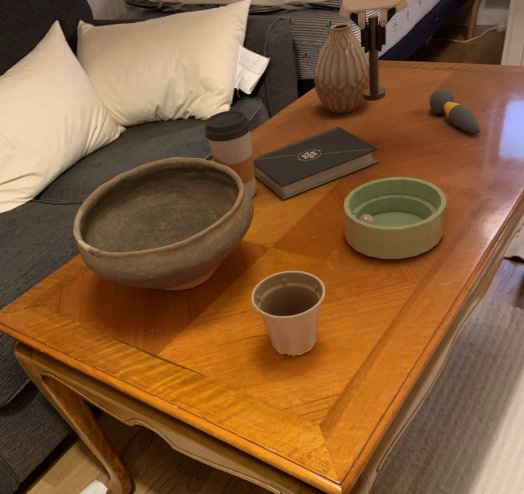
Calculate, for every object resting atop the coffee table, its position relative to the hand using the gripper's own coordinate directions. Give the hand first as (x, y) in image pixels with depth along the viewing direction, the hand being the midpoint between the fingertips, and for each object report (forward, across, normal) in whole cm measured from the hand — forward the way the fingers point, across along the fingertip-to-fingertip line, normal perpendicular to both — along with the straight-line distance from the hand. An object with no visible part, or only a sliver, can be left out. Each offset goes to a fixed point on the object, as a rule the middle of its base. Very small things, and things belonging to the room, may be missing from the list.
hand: (373, 49), depth 98 cm
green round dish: (+18, +5, -35) cm, 40 cm away
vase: (+18, -9, +19) cm, 28 cm away
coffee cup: (+18, -25, -21) cm, 37 cm away
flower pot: (+18, -7, -61) cm, 64 cm away
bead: (+17, +1, -35) cm, 39 cm away
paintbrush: (+18, +16, +8) cm, 26 cm away
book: (+18, -12, -11) cm, 24 cm away
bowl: (+18, -29, -46) cm, 57 cm away
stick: (+9, 0, 0) cm, 9 cm away
